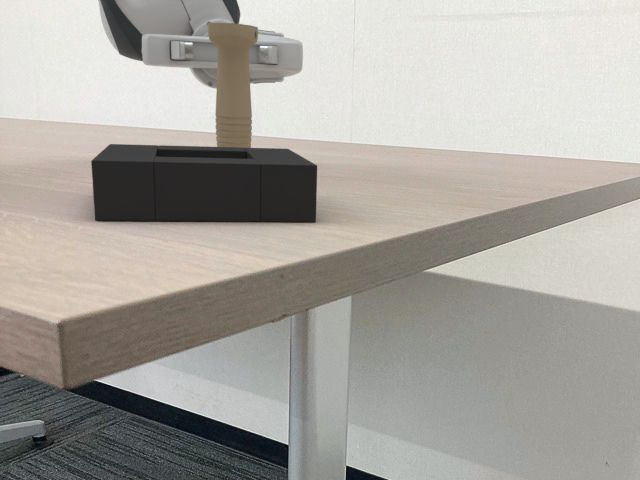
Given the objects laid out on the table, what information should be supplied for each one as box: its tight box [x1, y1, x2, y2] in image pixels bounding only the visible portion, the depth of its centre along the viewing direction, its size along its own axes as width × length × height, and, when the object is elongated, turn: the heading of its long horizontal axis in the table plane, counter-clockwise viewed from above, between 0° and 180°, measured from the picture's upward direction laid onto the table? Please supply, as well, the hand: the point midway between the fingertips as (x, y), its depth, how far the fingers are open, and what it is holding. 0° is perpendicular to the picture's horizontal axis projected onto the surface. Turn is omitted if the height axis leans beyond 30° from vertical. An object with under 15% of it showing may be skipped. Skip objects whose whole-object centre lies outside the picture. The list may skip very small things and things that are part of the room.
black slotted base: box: [90, 143, 318, 223], centre depth 60 cm, size 15×15×4 cm
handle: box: [208, 23, 259, 148], centre depth 82 cm, size 5×6×15 cm
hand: (226, 51), depth 92 cm, fingers open, 8 cm apart
